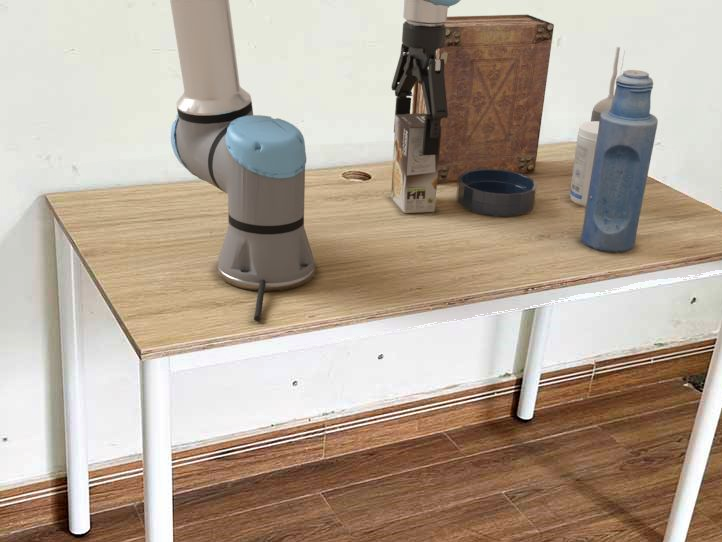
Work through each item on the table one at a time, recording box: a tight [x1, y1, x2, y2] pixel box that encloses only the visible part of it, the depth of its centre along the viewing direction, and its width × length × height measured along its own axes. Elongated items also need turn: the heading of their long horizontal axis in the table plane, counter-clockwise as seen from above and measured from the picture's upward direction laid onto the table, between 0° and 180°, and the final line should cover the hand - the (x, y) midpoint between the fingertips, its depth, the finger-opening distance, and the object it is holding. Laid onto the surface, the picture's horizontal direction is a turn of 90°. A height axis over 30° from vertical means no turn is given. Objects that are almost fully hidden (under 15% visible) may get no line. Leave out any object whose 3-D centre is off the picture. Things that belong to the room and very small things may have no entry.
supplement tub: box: [569, 120, 599, 208], centre depth 204 cm, size 10×10×15 cm
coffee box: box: [390, 113, 442, 214], centre depth 195 cm, size 9×6×16 cm
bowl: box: [455, 169, 538, 218], centre depth 202 cm, size 15×15×4 cm
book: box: [411, 14, 555, 184], centre depth 212 cm, size 25×9×30 cm, turn 116°
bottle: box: [580, 69, 659, 254], centre depth 181 cm, size 10×10×30 cm
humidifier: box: [590, 46, 626, 122], centre depth 221 cm, size 8×8×25 cm
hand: (415, 143), depth 193 cm, fingers open, 13 cm apart
